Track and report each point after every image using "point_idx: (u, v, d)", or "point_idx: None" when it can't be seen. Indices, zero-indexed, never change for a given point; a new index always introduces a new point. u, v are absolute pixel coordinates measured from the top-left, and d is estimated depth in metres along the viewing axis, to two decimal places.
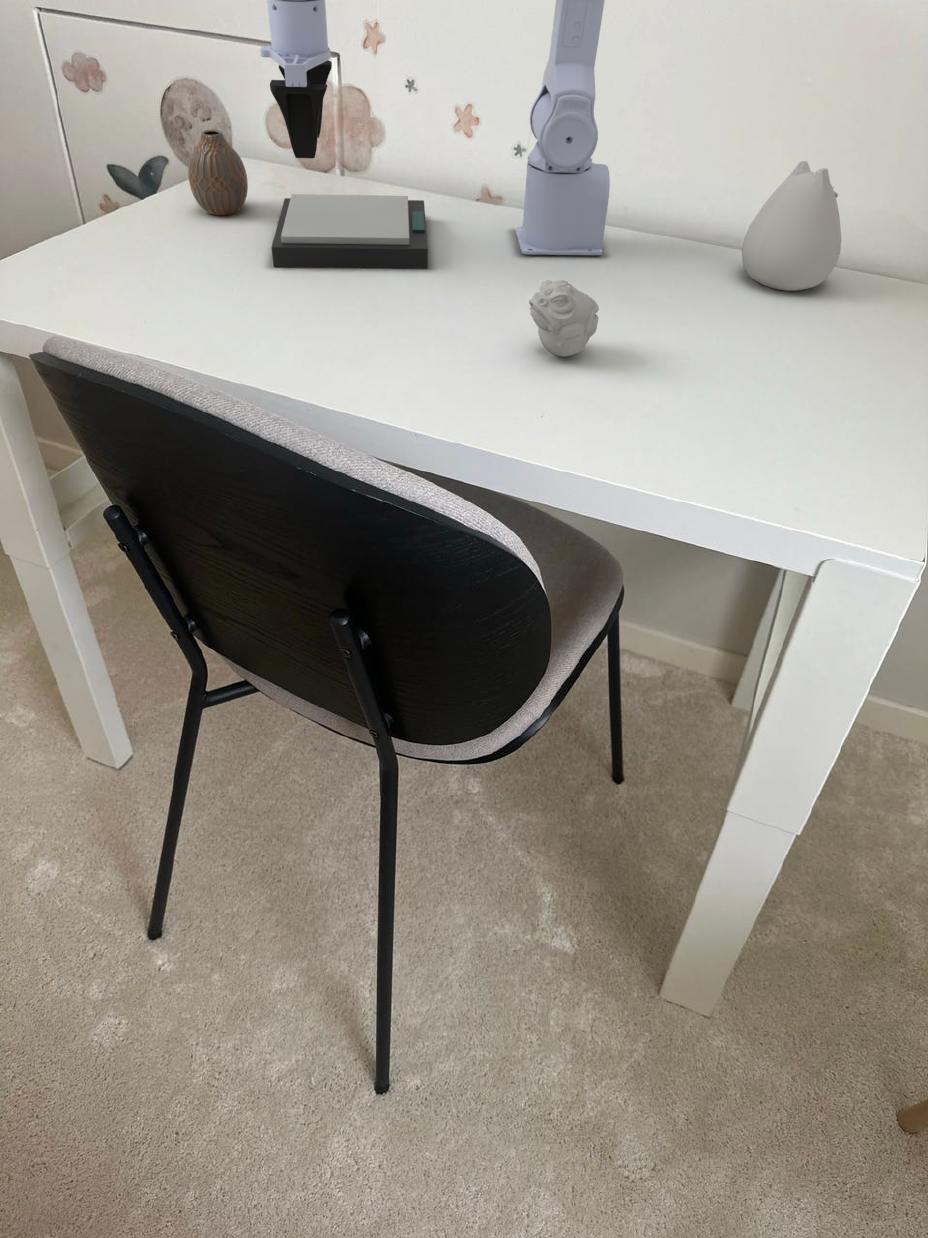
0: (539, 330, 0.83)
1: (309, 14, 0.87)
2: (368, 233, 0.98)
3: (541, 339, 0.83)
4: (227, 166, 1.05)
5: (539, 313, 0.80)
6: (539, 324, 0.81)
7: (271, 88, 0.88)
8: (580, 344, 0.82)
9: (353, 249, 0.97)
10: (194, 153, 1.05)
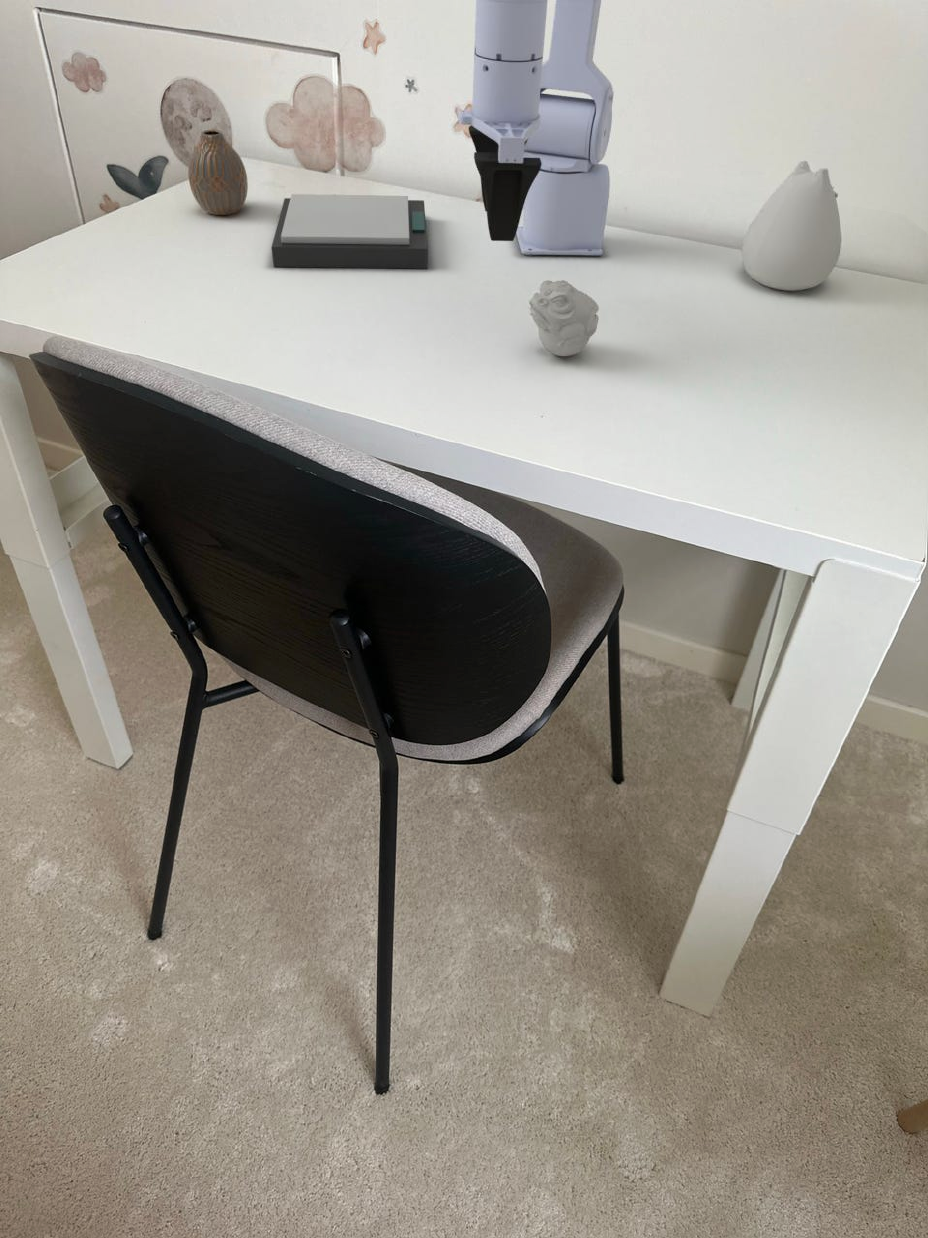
0: (539, 330, 0.83)
1: (527, 76, 0.73)
2: (368, 233, 0.98)
3: (541, 339, 0.83)
4: (227, 166, 1.05)
5: (539, 313, 0.80)
6: (539, 324, 0.81)
7: (477, 163, 0.74)
8: (580, 344, 0.82)
9: (353, 249, 0.97)
10: (194, 153, 1.05)
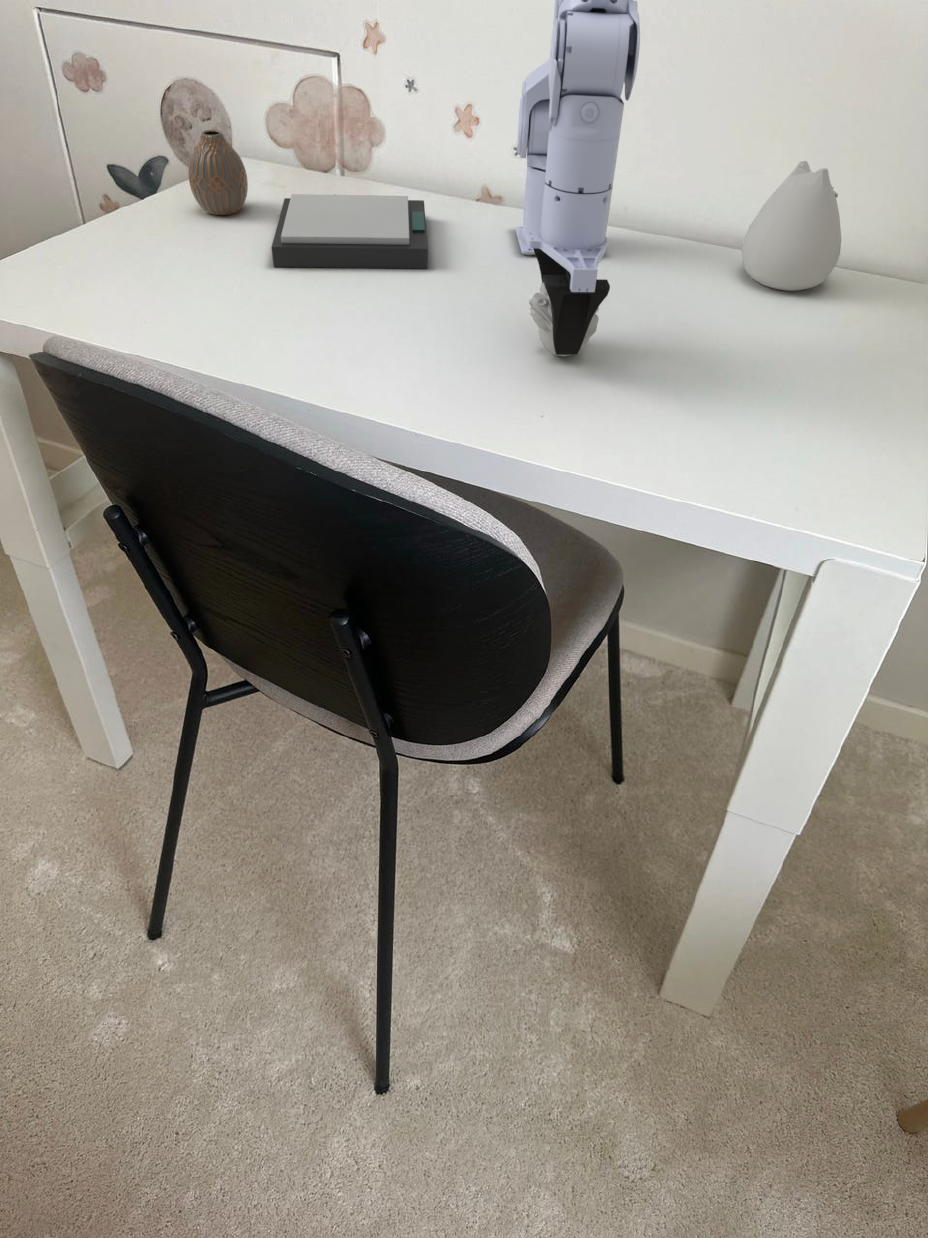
0: (539, 330, 0.83)
1: (598, 206, 0.74)
2: (368, 233, 0.98)
3: (541, 339, 0.83)
4: (227, 166, 1.05)
5: (539, 313, 0.80)
6: (539, 324, 0.81)
7: (547, 288, 0.75)
8: None
9: (353, 249, 0.97)
10: (194, 153, 1.05)
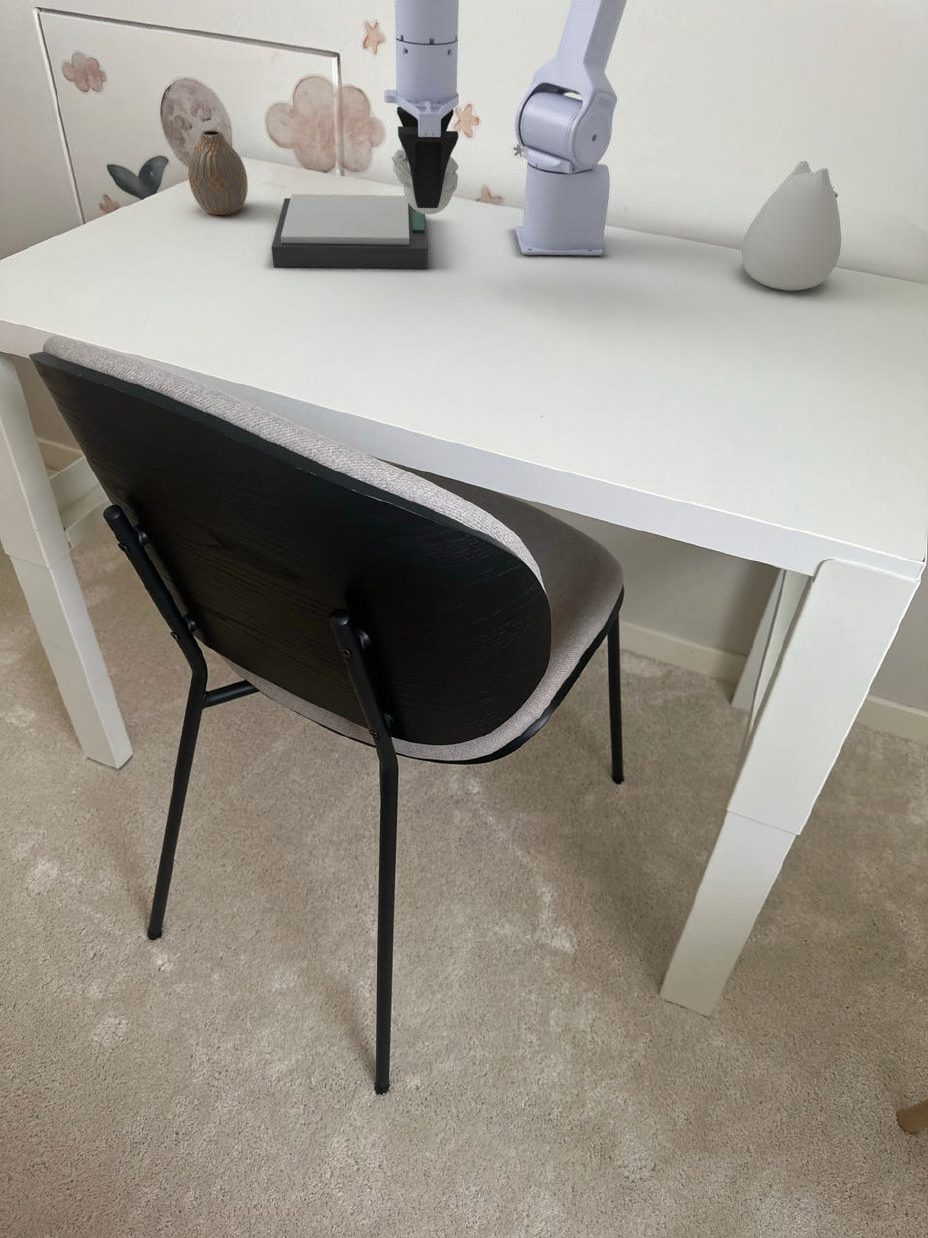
0: (404, 188, 0.89)
1: (443, 58, 0.80)
2: (368, 233, 0.98)
3: (406, 197, 0.90)
4: (227, 166, 1.05)
5: (400, 168, 0.87)
6: (401, 180, 0.88)
7: (400, 136, 0.82)
8: (441, 200, 0.89)
9: (353, 249, 0.97)
10: (194, 153, 1.05)
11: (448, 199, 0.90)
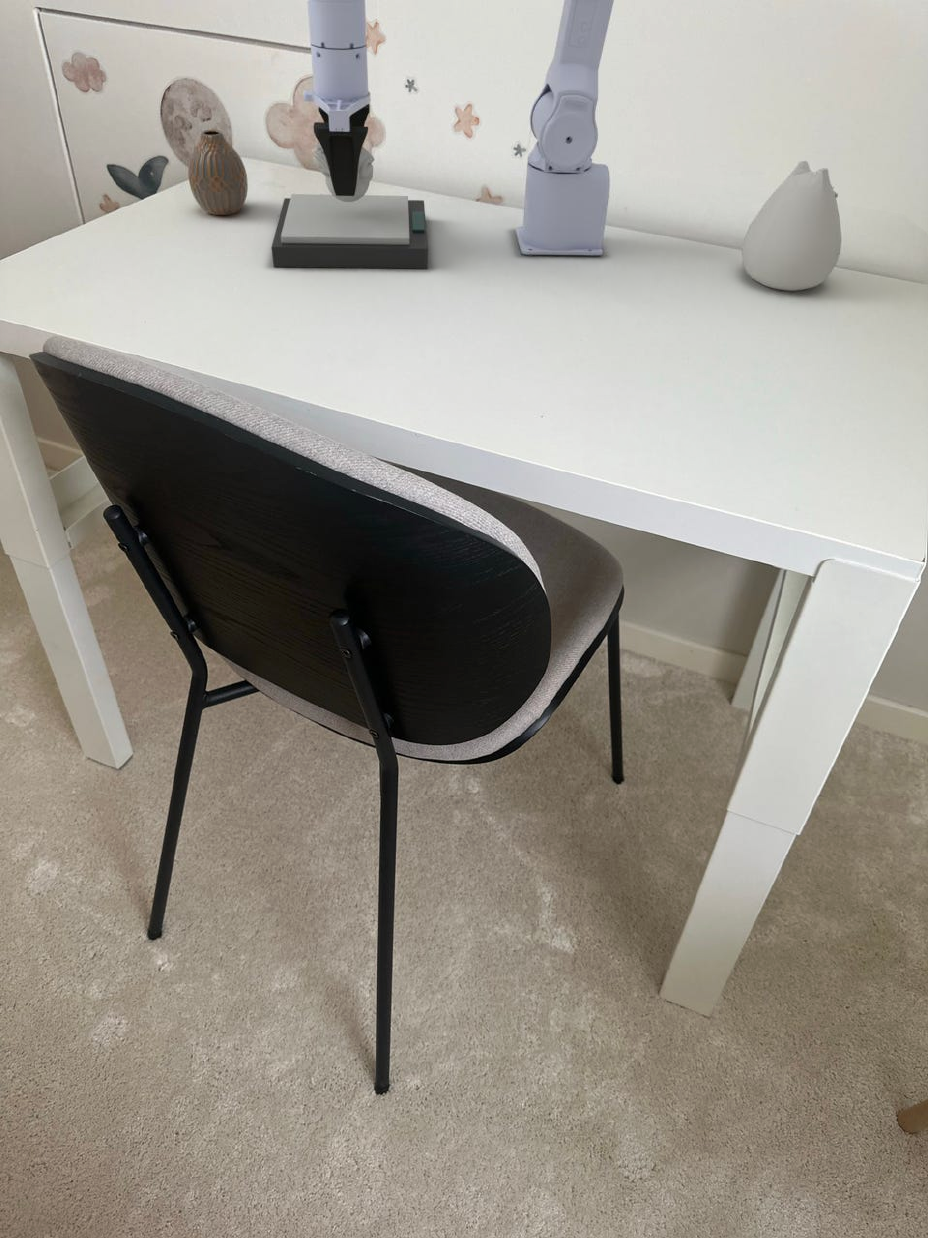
0: (325, 178, 0.99)
1: (352, 61, 0.90)
2: (368, 233, 0.98)
3: (327, 186, 1.00)
4: (227, 166, 1.05)
5: (319, 160, 0.97)
6: (321, 170, 0.98)
7: (315, 131, 0.92)
8: (358, 188, 0.99)
9: (353, 249, 0.97)
10: (194, 153, 1.05)
11: (365, 188, 0.99)
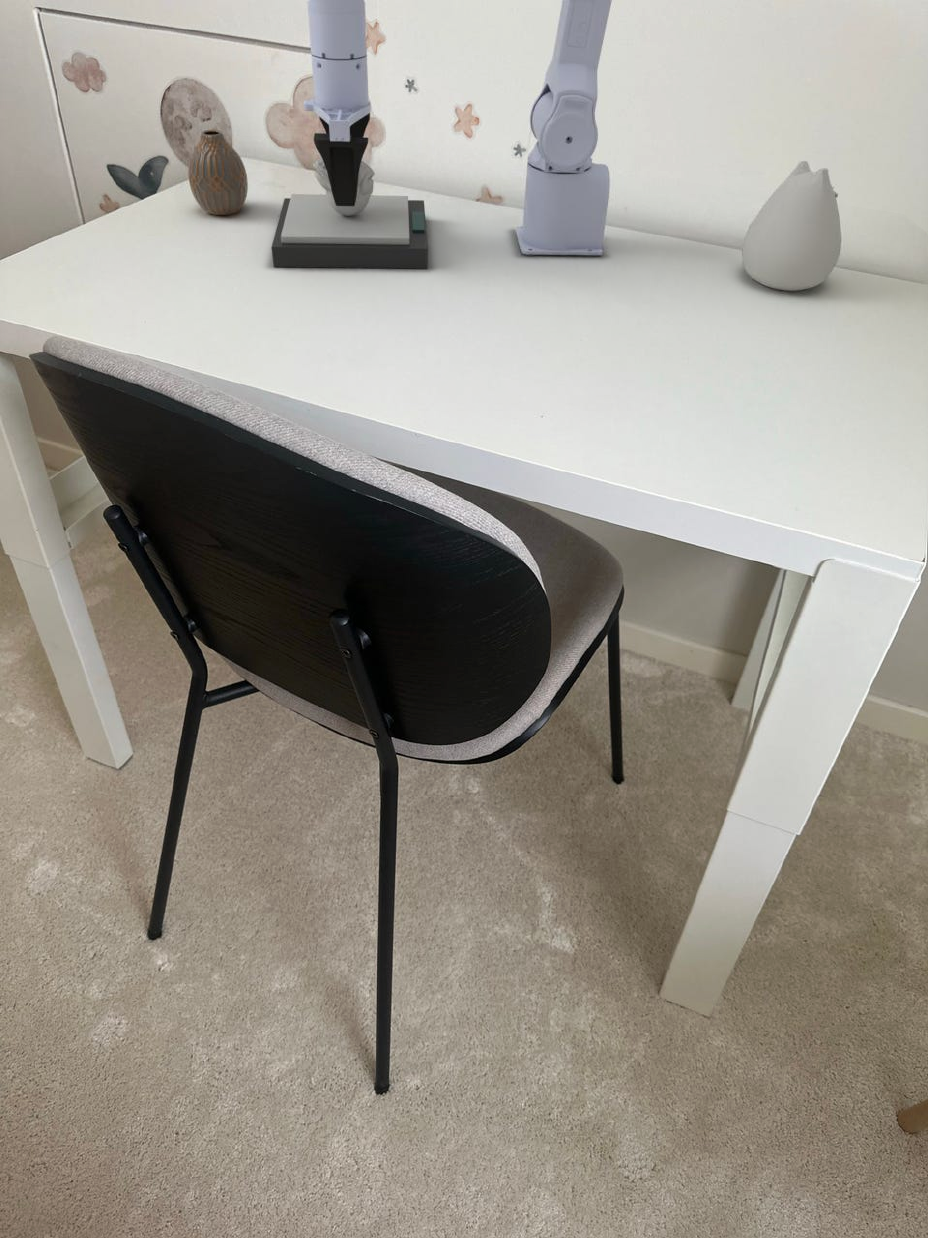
0: (326, 192, 1.00)
1: (352, 71, 0.91)
2: (368, 233, 0.98)
3: (328, 200, 1.01)
4: (227, 166, 1.05)
5: (320, 174, 0.98)
6: (322, 185, 0.99)
7: (315, 142, 0.92)
8: (358, 202, 1.00)
9: (353, 249, 0.97)
10: (194, 153, 1.05)
11: (365, 202, 1.00)
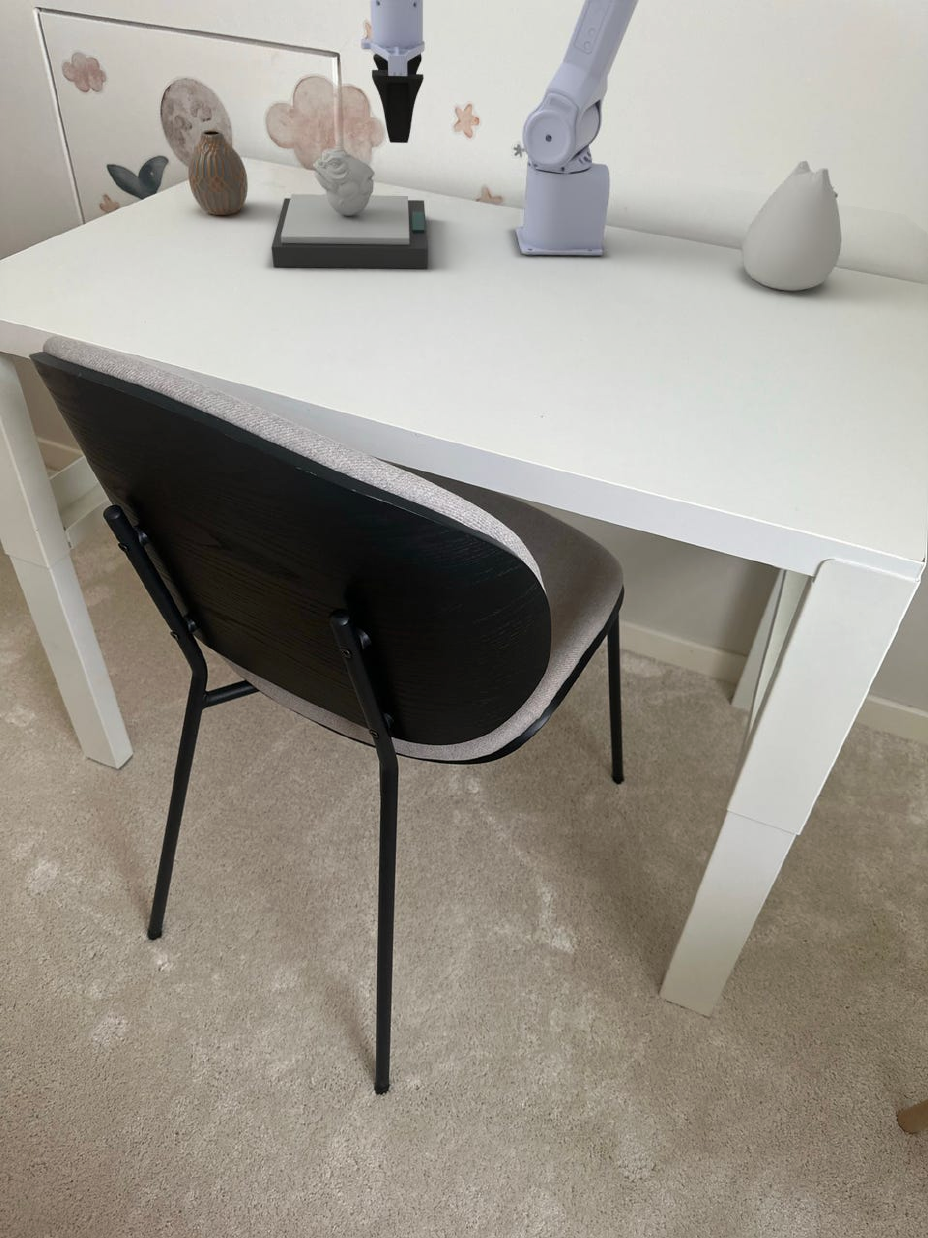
0: (326, 192, 1.00)
1: (409, 9, 0.95)
2: (368, 233, 0.98)
3: (328, 200, 1.01)
4: (227, 166, 1.05)
5: (320, 174, 0.98)
6: (322, 185, 0.99)
7: (373, 77, 0.96)
8: (358, 202, 1.00)
9: (353, 249, 0.97)
10: (194, 153, 1.05)
11: (365, 202, 1.00)
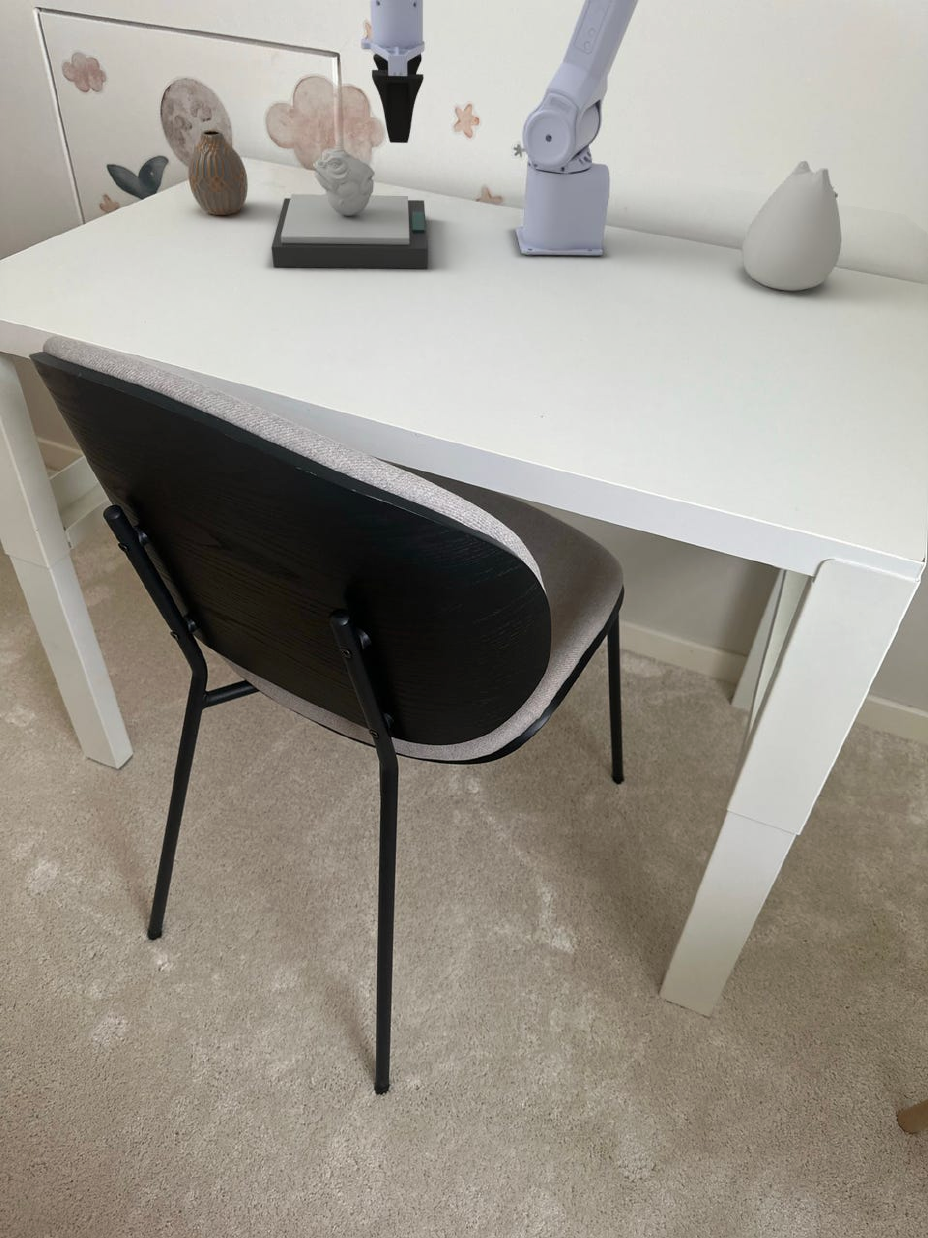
0: (326, 192, 1.00)
1: (409, 9, 0.95)
2: (368, 233, 0.98)
3: (328, 200, 1.01)
4: (227, 166, 1.05)
5: (320, 174, 0.98)
6: (322, 185, 0.99)
7: (373, 77, 0.96)
8: (358, 202, 1.00)
9: (353, 249, 0.97)
10: (194, 153, 1.05)
11: (365, 202, 1.00)
